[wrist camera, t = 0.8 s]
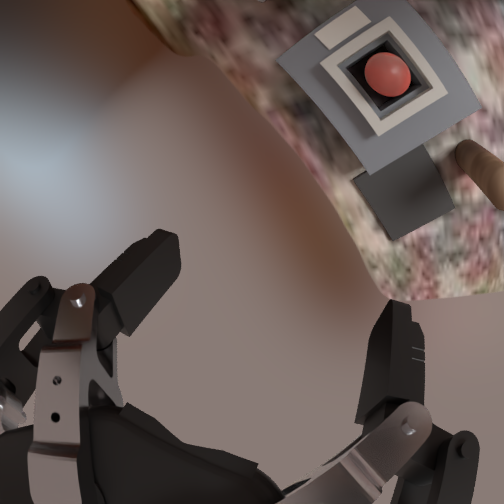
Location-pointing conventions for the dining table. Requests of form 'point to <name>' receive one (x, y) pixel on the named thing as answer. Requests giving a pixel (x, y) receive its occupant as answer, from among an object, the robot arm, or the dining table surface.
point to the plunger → (387, 74)
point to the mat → (406, 193)
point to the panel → (354, 96)
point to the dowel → (483, 170)
